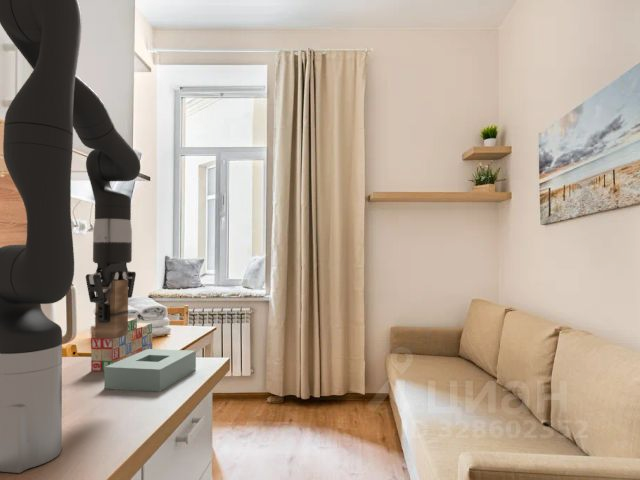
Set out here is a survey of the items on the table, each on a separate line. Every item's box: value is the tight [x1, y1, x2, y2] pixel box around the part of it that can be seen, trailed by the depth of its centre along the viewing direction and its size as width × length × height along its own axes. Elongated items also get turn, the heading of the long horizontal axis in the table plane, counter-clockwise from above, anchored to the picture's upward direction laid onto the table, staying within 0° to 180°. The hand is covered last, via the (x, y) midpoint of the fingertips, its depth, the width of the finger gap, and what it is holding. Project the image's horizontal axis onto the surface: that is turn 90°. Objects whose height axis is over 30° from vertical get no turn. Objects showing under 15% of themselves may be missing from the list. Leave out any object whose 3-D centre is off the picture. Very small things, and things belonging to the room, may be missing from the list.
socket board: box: [103, 348, 197, 392], centre depth 109 cm, size 18×14×5 cm
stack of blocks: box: [90, 317, 153, 372], centre depth 126 cm, size 21×6×12 cm, turn 174°
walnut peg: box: [94, 280, 129, 339], centre depth 93 cm, size 5×5×12 cm
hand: (111, 320), depth 93 cm, fingers closed on walnut peg, 4 cm apart
